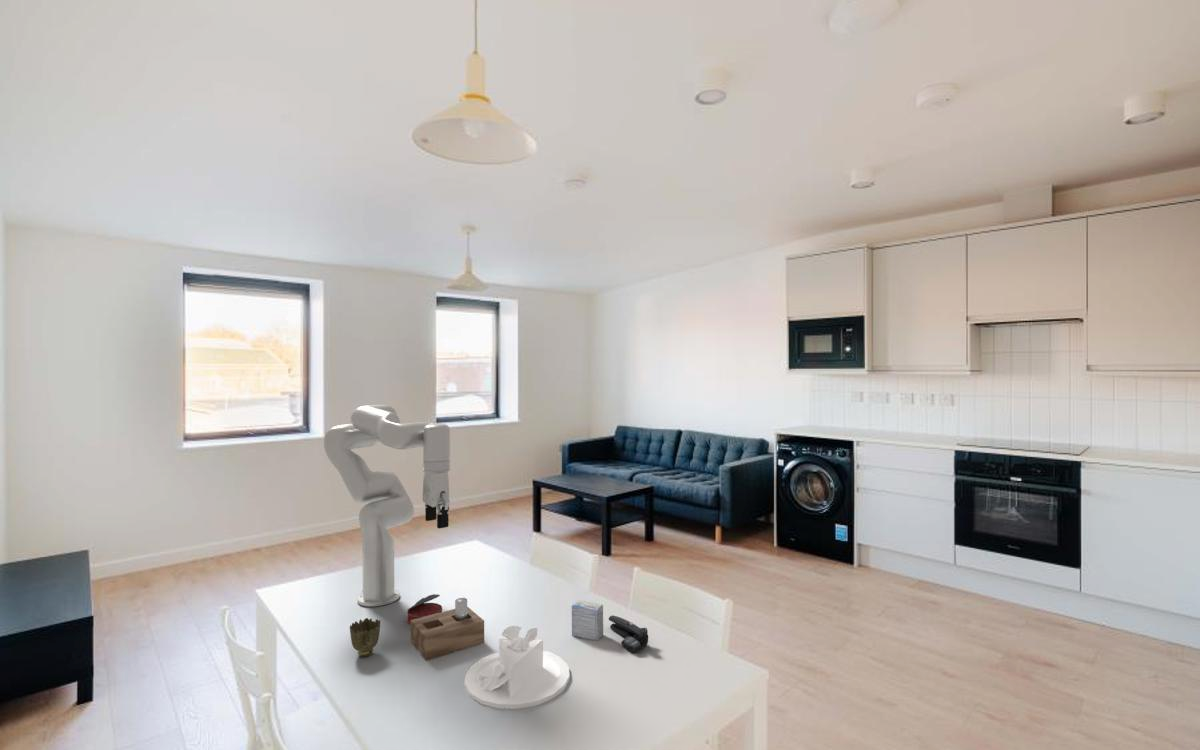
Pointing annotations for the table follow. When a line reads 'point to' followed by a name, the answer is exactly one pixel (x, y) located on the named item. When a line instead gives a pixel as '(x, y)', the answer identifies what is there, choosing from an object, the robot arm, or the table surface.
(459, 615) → the pin
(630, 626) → the can opener
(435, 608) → the canned food
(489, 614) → the table surface
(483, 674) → the dish
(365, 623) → the cup
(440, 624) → the hole block
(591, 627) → the medicine box
